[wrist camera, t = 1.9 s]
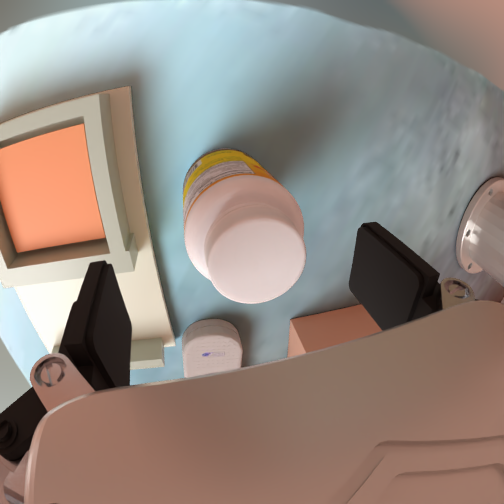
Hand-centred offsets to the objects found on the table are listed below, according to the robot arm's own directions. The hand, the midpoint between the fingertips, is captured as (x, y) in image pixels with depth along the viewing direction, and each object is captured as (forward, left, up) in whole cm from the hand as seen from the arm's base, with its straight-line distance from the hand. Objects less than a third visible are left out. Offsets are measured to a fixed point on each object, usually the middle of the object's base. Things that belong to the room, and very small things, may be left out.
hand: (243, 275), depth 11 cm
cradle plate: (+11, -2, -10) cm, 15 cm away
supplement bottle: (-1, 0, -11) cm, 11 cm away
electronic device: (+2, +19, -11) cm, 22 cm away
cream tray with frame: (+11, +3, -11) cm, 16 cm away
